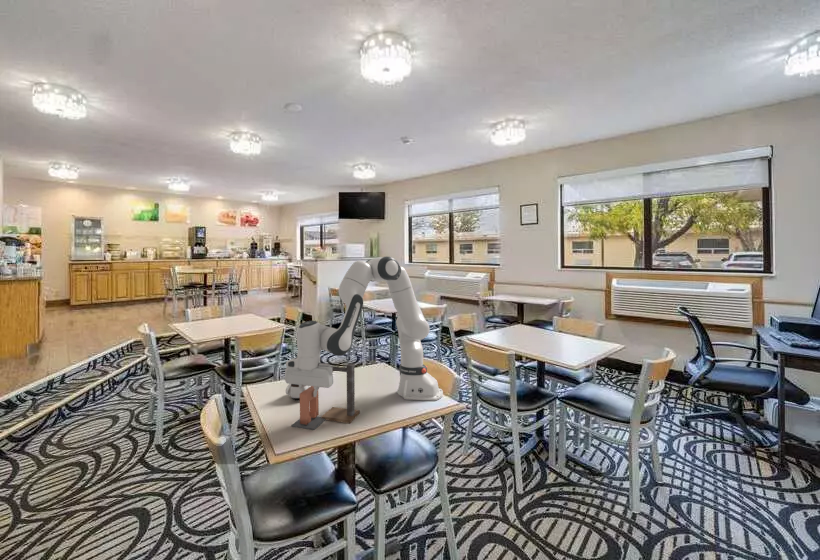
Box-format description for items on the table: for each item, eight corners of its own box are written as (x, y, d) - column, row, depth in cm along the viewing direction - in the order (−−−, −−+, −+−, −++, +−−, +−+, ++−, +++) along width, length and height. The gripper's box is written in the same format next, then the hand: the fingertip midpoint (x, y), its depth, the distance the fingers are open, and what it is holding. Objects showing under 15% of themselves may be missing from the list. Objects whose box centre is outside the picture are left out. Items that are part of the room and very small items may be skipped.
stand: (360, 413, 154) (359, 361, 153) (350, 423, 145) (349, 368, 143) (324, 408, 159) (323, 358, 158) (312, 418, 149) (311, 365, 148)
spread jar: (305, 402, 166) (305, 377, 165) (280, 402, 166) (280, 377, 165) (312, 392, 178) (312, 369, 177) (289, 392, 178) (289, 369, 177)
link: (318, 414, 149) (318, 386, 148) (306, 424, 140) (306, 394, 140) (312, 414, 150) (311, 385, 149) (300, 423, 141) (299, 393, 140)
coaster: (326, 418, 149) (326, 417, 149) (313, 429, 139) (313, 428, 139) (305, 415, 151) (305, 414, 151) (291, 426, 142) (291, 425, 142)
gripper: (336, 361, 144) (336, 395, 145) (291, 357, 149) (292, 390, 150) (328, 366, 138) (328, 401, 139) (282, 362, 143) (282, 396, 144)
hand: (309, 395), depth 145 cm, fingers closed on link, 3 cm apart
